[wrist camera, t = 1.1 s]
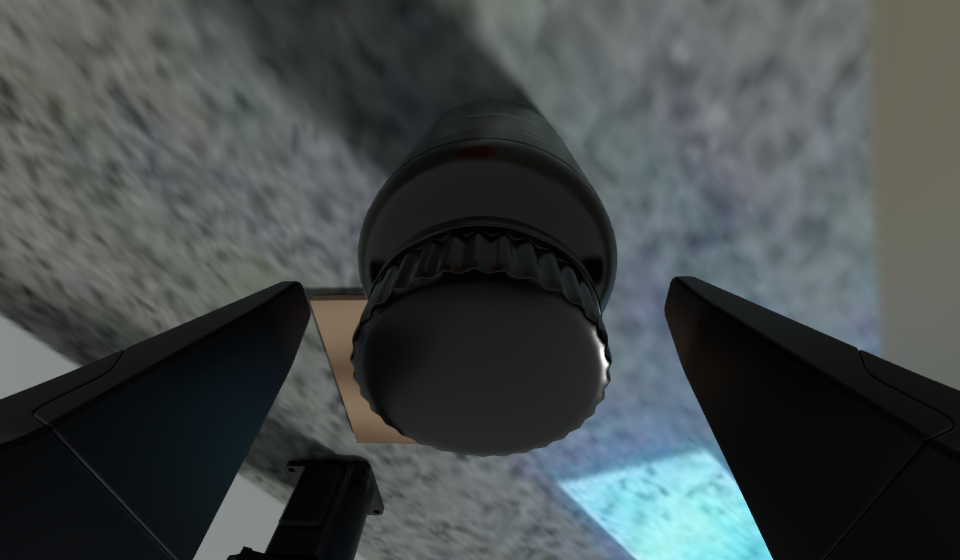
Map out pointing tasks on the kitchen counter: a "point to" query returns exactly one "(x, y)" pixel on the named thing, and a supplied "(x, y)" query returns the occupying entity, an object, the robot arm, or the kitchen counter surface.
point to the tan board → (350, 365)
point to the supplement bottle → (485, 287)
